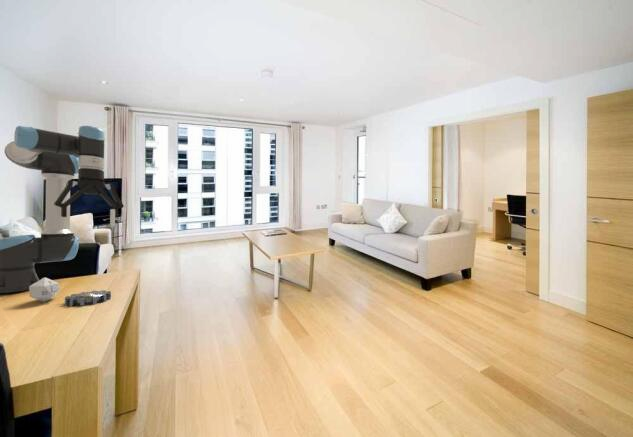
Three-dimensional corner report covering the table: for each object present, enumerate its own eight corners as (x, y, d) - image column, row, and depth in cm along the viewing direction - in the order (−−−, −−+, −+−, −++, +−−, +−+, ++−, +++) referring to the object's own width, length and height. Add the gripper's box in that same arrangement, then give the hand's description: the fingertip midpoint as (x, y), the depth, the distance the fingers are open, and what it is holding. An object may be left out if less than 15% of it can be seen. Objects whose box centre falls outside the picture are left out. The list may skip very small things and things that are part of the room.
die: (41, 306, 107) (41, 279, 108) (22, 304, 109) (23, 278, 109) (65, 300, 116) (65, 275, 116) (47, 298, 118) (47, 274, 118)
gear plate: (60, 302, 113) (60, 295, 113) (103, 294, 125) (103, 288, 125) (70, 308, 104) (70, 302, 104) (116, 299, 116) (116, 293, 116)
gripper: (48, 162, 93) (48, 227, 93) (133, 172, 113) (132, 225, 113) (43, 165, 97) (42, 226, 97) (125, 174, 117) (125, 225, 117)
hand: (91, 226), depth 105 cm, fingers open, 13 cm apart
